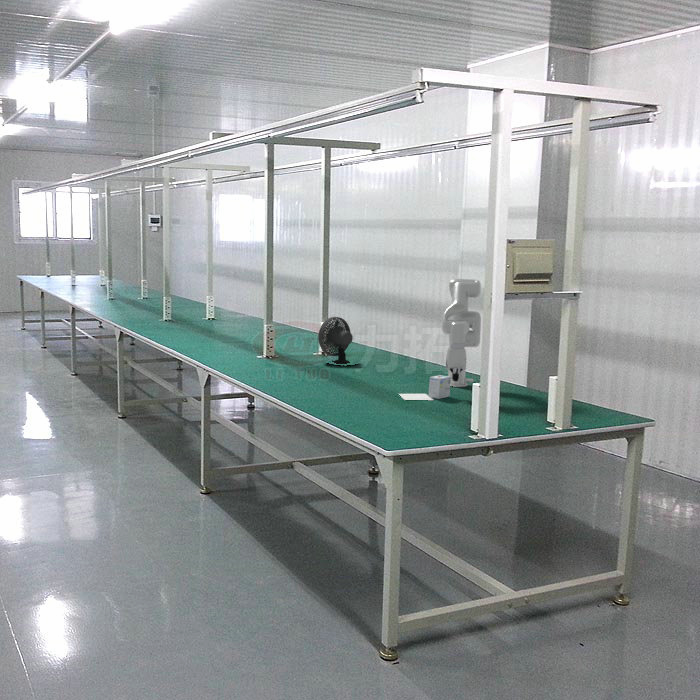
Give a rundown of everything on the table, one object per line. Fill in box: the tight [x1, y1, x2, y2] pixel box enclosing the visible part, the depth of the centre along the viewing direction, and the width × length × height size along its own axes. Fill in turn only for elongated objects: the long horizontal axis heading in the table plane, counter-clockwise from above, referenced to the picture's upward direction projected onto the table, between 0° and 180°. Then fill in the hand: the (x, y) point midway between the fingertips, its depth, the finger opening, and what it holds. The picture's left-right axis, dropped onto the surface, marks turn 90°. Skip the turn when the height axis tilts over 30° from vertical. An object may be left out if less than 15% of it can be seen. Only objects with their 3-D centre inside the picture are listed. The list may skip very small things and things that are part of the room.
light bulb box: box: [428, 374, 451, 400], centre depth 395 cm, size 11×7×11 cm, turn 141°
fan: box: [317, 316, 354, 364], centre depth 495 cm, size 26×26×30 cm
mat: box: [398, 393, 434, 401], centre depth 393 cm, size 15×16×1 cm
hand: (455, 380), depth 396 cm, fingers closed
